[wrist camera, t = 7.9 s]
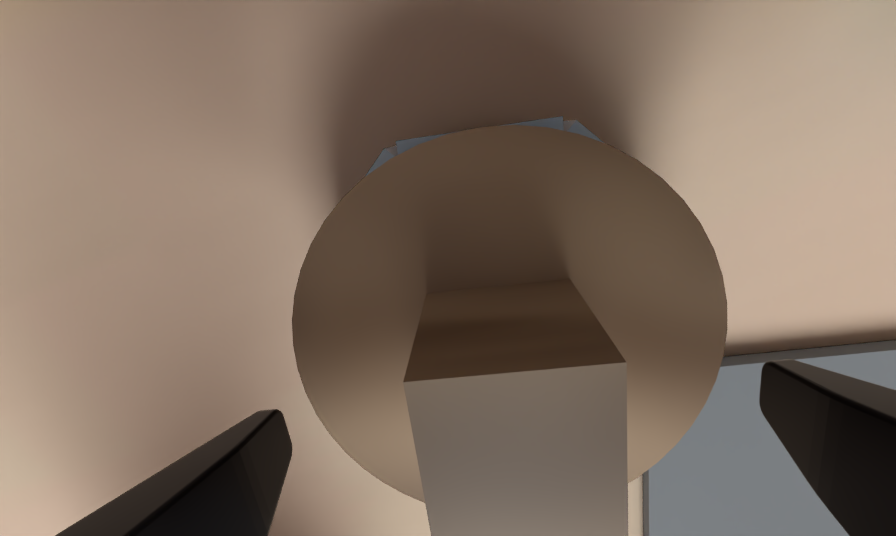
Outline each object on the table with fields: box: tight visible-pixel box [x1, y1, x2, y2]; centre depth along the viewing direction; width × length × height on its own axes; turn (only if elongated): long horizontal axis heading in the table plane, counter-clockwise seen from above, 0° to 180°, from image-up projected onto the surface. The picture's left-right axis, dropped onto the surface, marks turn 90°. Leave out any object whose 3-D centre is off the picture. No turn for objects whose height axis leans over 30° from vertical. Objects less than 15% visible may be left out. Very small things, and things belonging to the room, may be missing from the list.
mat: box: [643, 340, 896, 536], centre depth 17 cm, size 14×14×1 cm
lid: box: [292, 125, 727, 536], centre depth 9 cm, size 10×10×5 cm
